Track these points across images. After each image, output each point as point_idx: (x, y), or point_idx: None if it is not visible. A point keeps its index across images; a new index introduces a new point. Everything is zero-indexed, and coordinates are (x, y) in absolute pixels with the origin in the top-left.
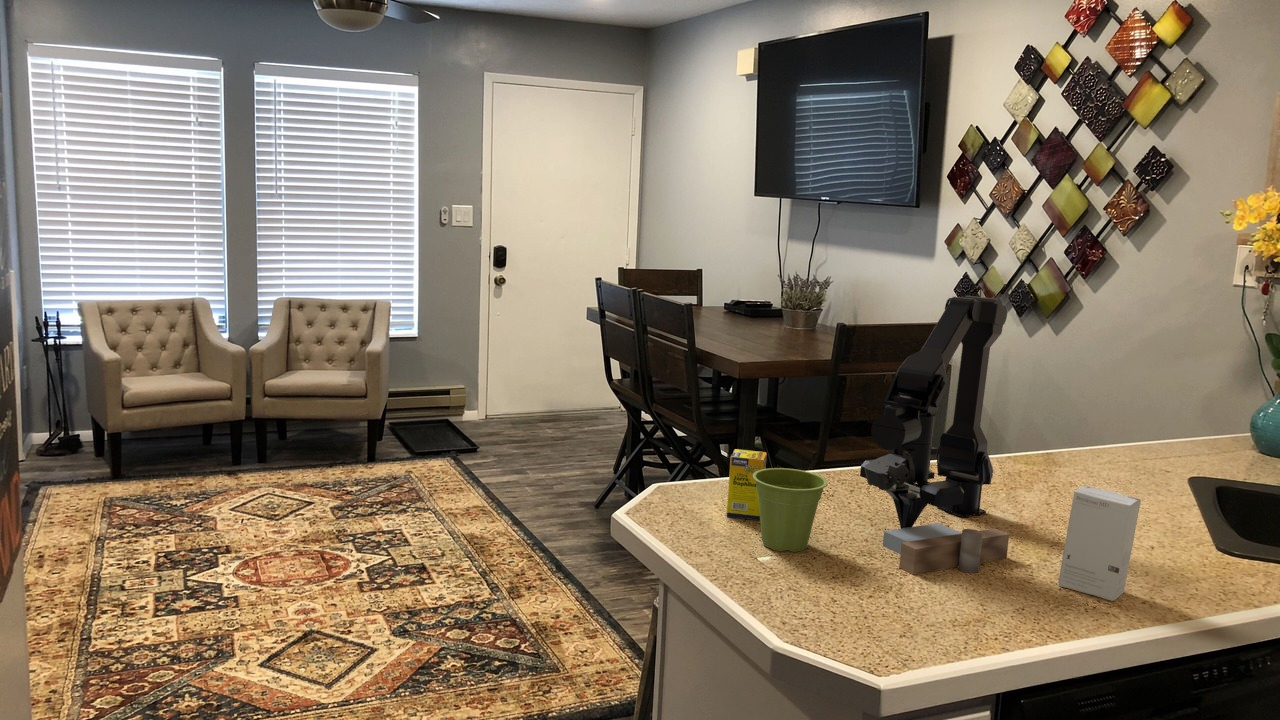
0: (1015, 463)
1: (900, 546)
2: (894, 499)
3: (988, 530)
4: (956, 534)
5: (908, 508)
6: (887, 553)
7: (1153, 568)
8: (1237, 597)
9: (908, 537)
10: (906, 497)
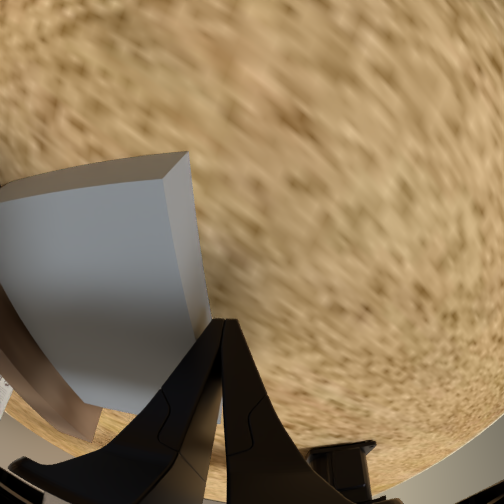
0: (389, 483)
1: (57, 178)
2: (283, 462)
3: (73, 429)
4: (15, 367)
5: (132, 427)
6: (93, 111)
7: (74, 441)
8: (21, 420)
9: (53, 247)
10: (33, 481)
